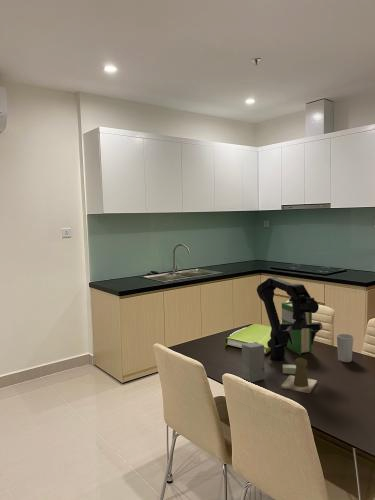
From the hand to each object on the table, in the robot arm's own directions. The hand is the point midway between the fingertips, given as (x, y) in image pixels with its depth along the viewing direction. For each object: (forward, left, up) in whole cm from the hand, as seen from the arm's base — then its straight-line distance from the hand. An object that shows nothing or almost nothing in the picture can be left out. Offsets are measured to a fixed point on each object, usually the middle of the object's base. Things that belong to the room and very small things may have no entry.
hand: (302, 344), depth 185 cm
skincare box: (-17, -19, -13) cm, 28 cm away
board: (+3, -16, -12) cm, 21 cm away
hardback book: (-12, +29, -13) cm, 34 cm away
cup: (+14, +24, -13) cm, 31 cm away
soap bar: (-5, -4, -13) cm, 14 cm away
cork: (+4, -17, -12) cm, 21 cm away
